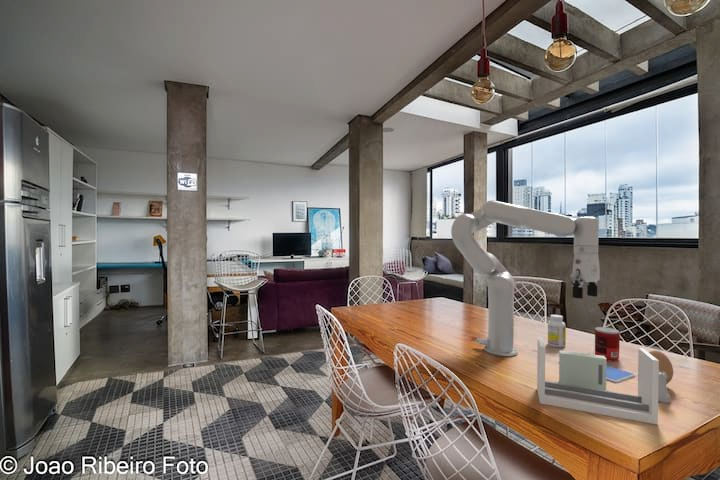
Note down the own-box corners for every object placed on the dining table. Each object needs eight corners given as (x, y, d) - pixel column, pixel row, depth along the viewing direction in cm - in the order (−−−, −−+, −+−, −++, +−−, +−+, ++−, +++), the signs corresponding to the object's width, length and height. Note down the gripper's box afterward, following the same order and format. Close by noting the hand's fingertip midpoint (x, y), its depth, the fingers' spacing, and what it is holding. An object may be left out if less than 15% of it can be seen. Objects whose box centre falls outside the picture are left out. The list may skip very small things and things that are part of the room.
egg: (642, 377, 112) (642, 345, 112) (673, 385, 107) (673, 350, 107) (640, 385, 107) (640, 350, 106) (672, 392, 101) (673, 356, 101)
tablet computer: (557, 364, 125) (557, 361, 125) (577, 359, 131) (577, 355, 131) (616, 385, 108) (616, 381, 108) (636, 377, 113) (636, 374, 113)
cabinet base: (539, 403, 94) (540, 346, 94) (537, 388, 103) (537, 336, 103) (657, 424, 84) (658, 360, 84) (643, 406, 93) (643, 348, 93)
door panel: (560, 384, 106) (560, 353, 106) (558, 380, 109) (559, 350, 109) (606, 392, 102) (606, 359, 102) (603, 387, 104) (603, 355, 104)
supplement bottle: (560, 343, 149) (561, 314, 148) (568, 348, 142) (568, 317, 142) (544, 342, 149) (545, 313, 149) (551, 347, 143) (552, 317, 143)
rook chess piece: (645, 396, 99) (646, 369, 99) (659, 395, 99) (660, 368, 99) (660, 403, 94) (661, 375, 94) (675, 403, 95) (675, 375, 95)
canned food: (620, 357, 131) (620, 329, 131) (617, 363, 125) (618, 333, 125) (596, 352, 136) (596, 325, 136) (593, 357, 131) (593, 329, 130)
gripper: (583, 251, 116) (582, 300, 117) (609, 250, 125) (608, 296, 125) (561, 250, 123) (561, 297, 123) (587, 250, 131) (586, 293, 132)
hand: (585, 297), depth 124 cm, fingers open, 9 cm apart
